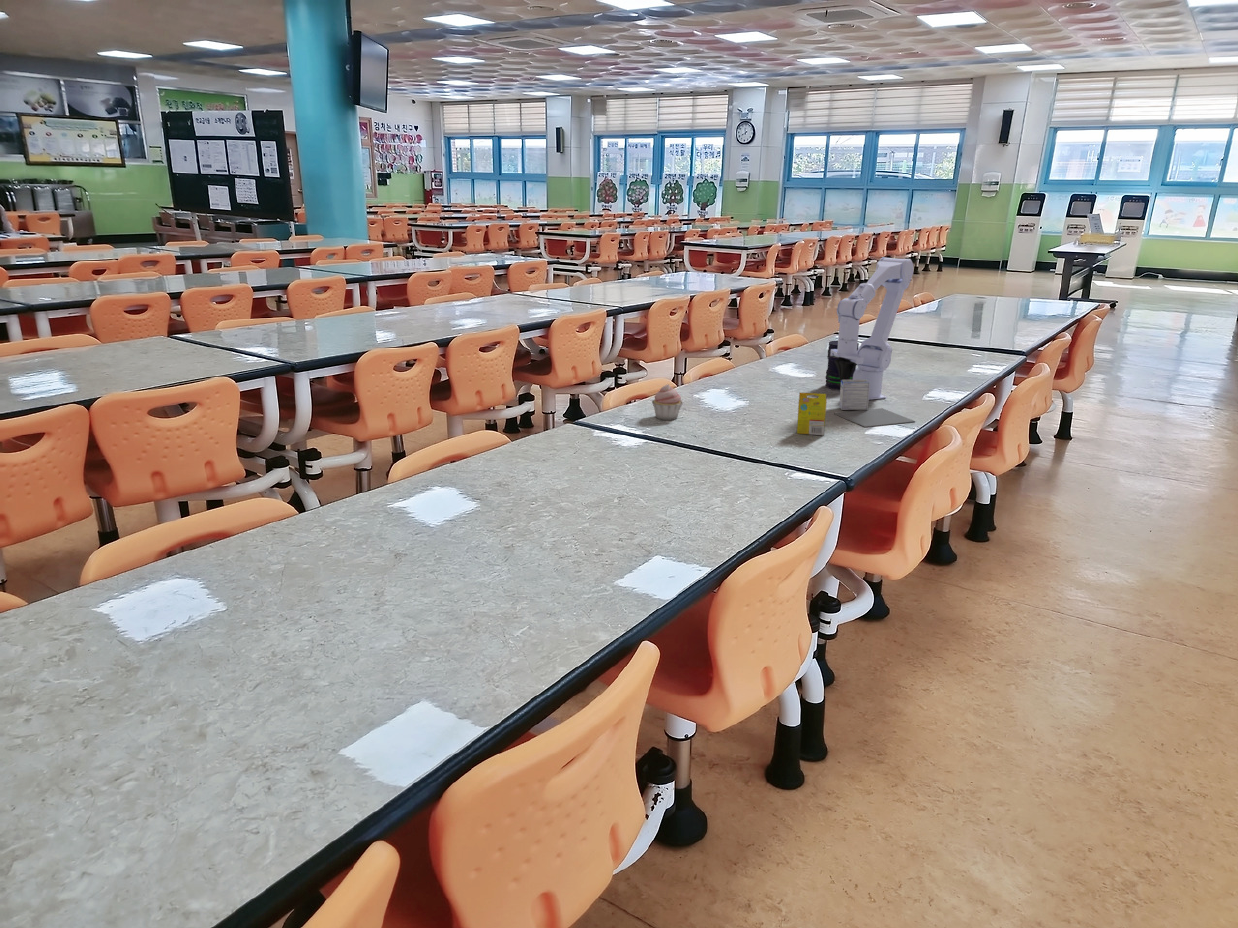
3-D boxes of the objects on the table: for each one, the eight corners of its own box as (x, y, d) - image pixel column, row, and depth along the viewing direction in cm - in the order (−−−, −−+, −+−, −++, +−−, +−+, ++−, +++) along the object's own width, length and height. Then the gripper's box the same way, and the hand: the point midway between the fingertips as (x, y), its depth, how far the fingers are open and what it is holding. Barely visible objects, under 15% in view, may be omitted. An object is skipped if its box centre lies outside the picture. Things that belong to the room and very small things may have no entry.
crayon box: (824, 433, 228) (827, 391, 225) (824, 435, 226) (827, 394, 222) (797, 430, 230) (800, 389, 227) (796, 433, 228) (799, 392, 224)
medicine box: (865, 407, 254) (867, 379, 252) (868, 410, 250) (870, 382, 247) (839, 407, 255) (840, 379, 252) (841, 410, 250) (843, 381, 248)
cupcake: (680, 422, 238) (681, 388, 235) (648, 420, 240) (649, 387, 237) (685, 414, 247) (685, 381, 244) (653, 412, 249) (654, 380, 246)
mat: (833, 413, 247) (833, 412, 247) (882, 409, 253) (882, 408, 253) (864, 427, 234) (864, 426, 233) (915, 422, 239) (915, 421, 239)
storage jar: (824, 389, 277) (828, 344, 272) (824, 382, 286) (828, 339, 281) (855, 391, 275) (859, 346, 270) (854, 384, 284) (858, 341, 279)
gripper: (823, 335, 256) (820, 378, 261) (850, 343, 243) (846, 389, 248) (843, 334, 259) (839, 377, 263) (871, 342, 246) (866, 387, 250)
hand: (844, 383), depth 255 cm, fingers closed
